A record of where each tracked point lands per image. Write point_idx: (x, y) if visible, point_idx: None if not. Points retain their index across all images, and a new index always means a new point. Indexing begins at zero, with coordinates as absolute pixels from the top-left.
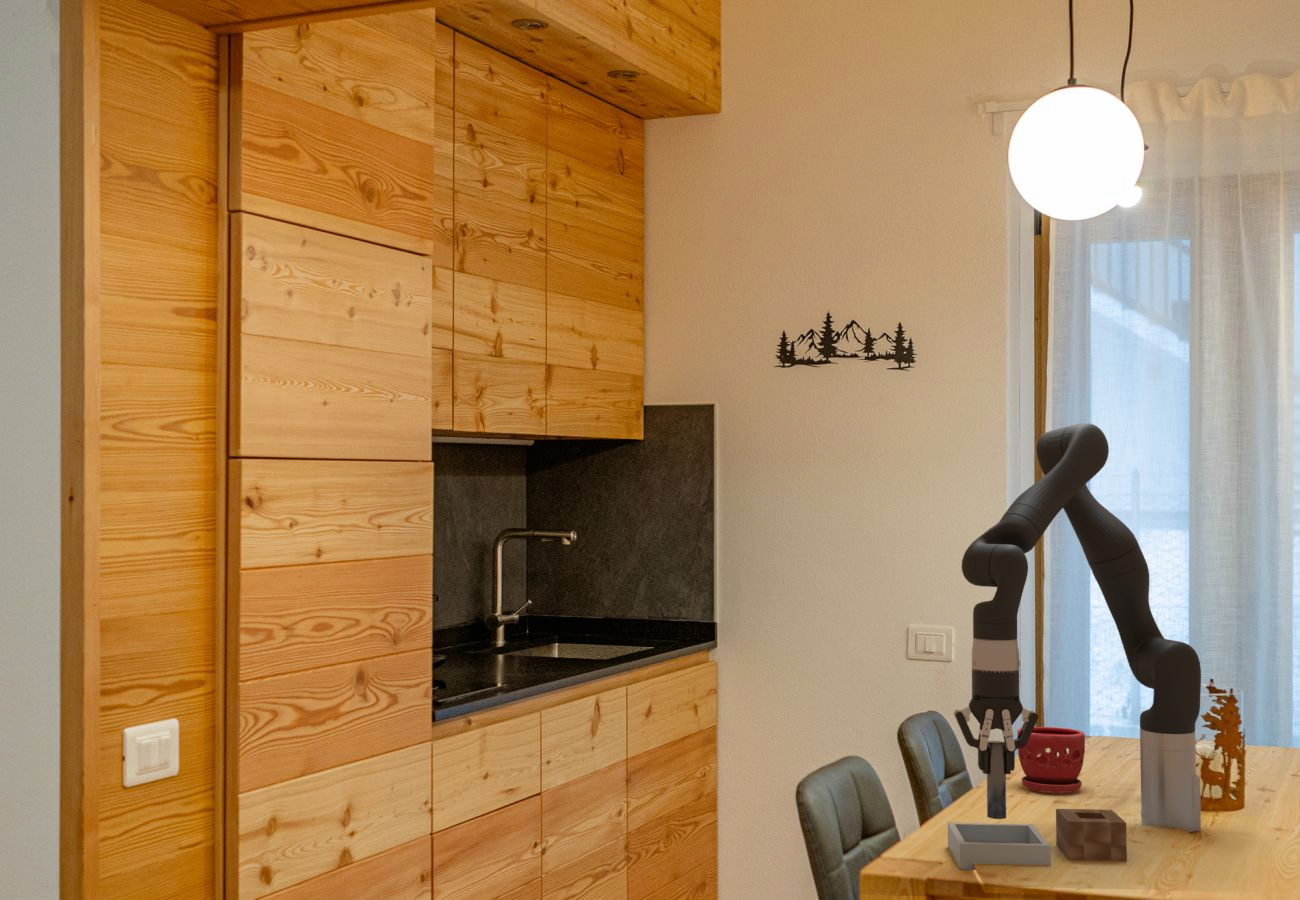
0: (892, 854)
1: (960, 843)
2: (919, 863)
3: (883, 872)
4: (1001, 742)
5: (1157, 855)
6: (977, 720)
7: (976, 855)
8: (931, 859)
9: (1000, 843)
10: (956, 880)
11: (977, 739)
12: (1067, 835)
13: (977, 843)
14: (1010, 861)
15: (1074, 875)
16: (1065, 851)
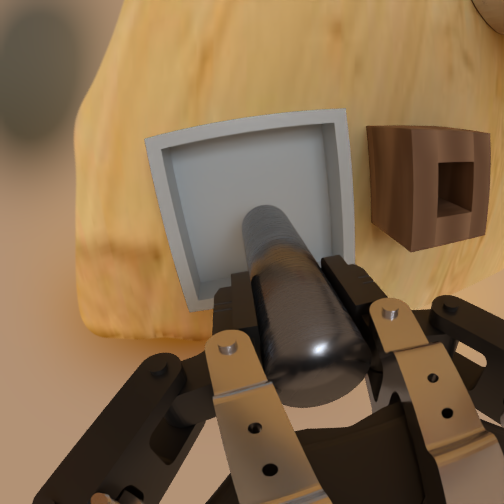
0: (77, 225)
1: (190, 311)
2: (126, 268)
3: (96, 323)
4: (350, 367)
5: None
6: (210, 502)
7: None
8: (139, 238)
9: None
10: (195, 338)
11: (208, 383)
12: (396, 233)
13: None
14: None
15: (367, 271)
16: (379, 204)
